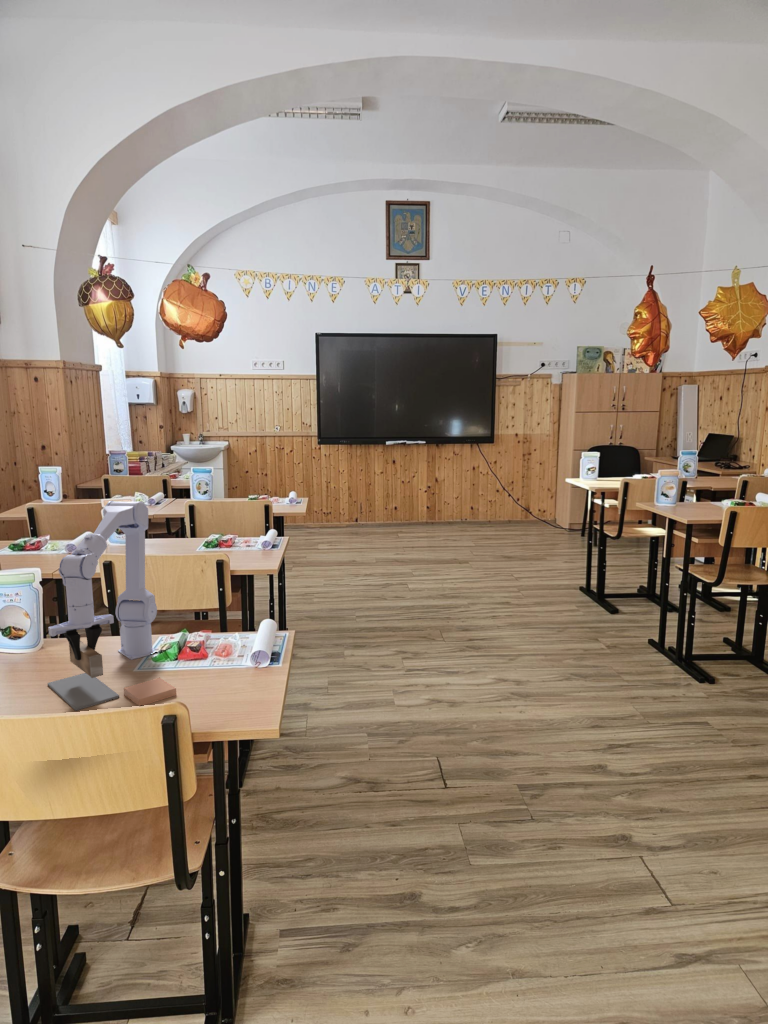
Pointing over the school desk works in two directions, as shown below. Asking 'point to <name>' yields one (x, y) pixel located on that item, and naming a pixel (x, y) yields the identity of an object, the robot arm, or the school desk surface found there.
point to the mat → (82, 691)
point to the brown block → (88, 660)
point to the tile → (149, 691)
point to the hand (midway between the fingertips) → (84, 657)
